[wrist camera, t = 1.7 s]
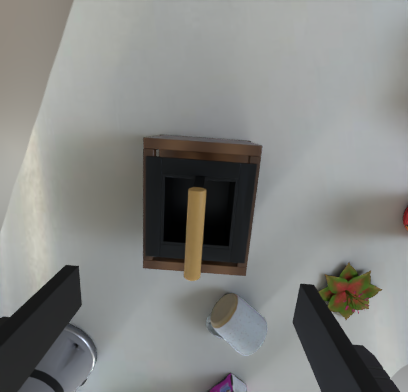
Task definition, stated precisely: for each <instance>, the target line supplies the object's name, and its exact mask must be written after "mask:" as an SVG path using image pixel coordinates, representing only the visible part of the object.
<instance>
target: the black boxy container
mask: <svg viewBox="0 0 408 392" xmlns="http://www.w3.org/2000/svg"><path fill="white" fill-rule="evenodd" d="M256 170H257V164H253V163H240V162H226V161H212V160H198V159H184V158H170V157H156V156H146V251H145V256H152V257H165V258H179V259H185V264H184V277H185V279H187V280H189V281H195V280H198V279H199V278H200V273H201V260H205V261H219V262H232V263H245V257H246V249H247V241H248V233H249V225H250V217H251V209H252V202H253V194H254V186H255V178H256Z"/></svg>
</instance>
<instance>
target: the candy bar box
mask: <svg viewBox="0 0 408 392" xmlns="http://www.w3.org/2000/svg"><path fill="white" fill-rule="evenodd" d="M208 392H247V388H246V384H245V383H244V382H243V381H241V380H240V379H238V378H237V377H236V376H234V375H233V374H232V373H230V374H229V375H228V376H226V377H225V378H224V379H223V380H222V381H220V382H219V383H218V384H217V385H216V386H214V387H213V388H212V389H211V390H209V391H208Z"/></svg>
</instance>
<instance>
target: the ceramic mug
mask: <svg viewBox="0 0 408 392" xmlns="http://www.w3.org/2000/svg"><path fill="white" fill-rule="evenodd" d="M210 321H211V322H210ZM206 327H207V329H208V330H209V332H210V333H212V334H213V335H214V336H216V337H218V338H220V339H225V340H226V341H227V342H228V343H229V344H230V345H231V346H232V347H233V348H234V349H235V350H236V351H237V352H238V353H239V354H241V355H244V356H247V355H251V354H253V353H254V352H256V351H257V350H258V349H259V348H260V346H261V345H262V344H263V342H264V340H265V337H266V334H267V322H266V320H265V318H264V317H263V316H262V315H261V314H259V313H258V312H257V311H256V310H255V309H254V308H252V307H251V306H250V305H249V304H248V303H247V302H246V301H245V300H243V299H242V298H241V297H240V296H238V295H236V294H234V293H230V294H226V295H225V296H223V297H222V298H221V299H220V300H219V301H218V302H217V303H216V305H215V306H214V308H213V310H212V313H211V315H209V316H208V319H207V321H206Z"/></svg>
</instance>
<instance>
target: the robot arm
mask: <svg viewBox="0 0 408 392" xmlns="http://www.w3.org/2000/svg"><path fill="white" fill-rule="evenodd" d="M81 305H82V302H81V290H80V277H79V266H71V265H65V266H64V267H63V268H62V269H61V270H60V271H59V272H58V273H57V274H56V275H55V276H54V277H53V278H52V279H50V280H49V281H48V282H47V283H46V284H45V285H44V286H43V287H42V288H41V289H40V290H39V291H38V292H37V293H35V294H34V295H33V296H32V297H31V298H30V299H29V300H28V301H27V302H26V303H25V304H24V305H23V306H22V307H20V308H19V309H18V310H17V311H16V312H15V313H14V314H13V315H12V316H11V317H2V318H0V392H75V391H76V390H77V388H78V387H80V386H82V385H83V384H84V383H85V381H86V380H87V377H88V376H89V375H90V373H91V371H92V369H93V367H94V365H95V363H96V359H97V352H96V348H95V346H94V344H93V342H92V340H91V339H90V338H89V337H88V335H86V334H85V333H84V332H83V331H82V330H80V329H78V328H77V327H75V326H72V325H70V324H68V323H69V322H70V320H71V319H72V318H73V316H74V315H75V314H76V312H77V311H78V310H79V308H80V307H81ZM293 325H294V327H295V329H296V332H297V334H298V337H299V339H300V341H301V344H302V346H303V349H304V351H305V353H306V356H307V358H308V361H309V363H310V365H311V368H312V370H313V373H314V375H315V377H316V380H317V382H318V385H319V387H320V389H321V392H400V391H399V389H398V388H397V387H396V385H395V384H394V382H393V381H392V380H390V377H389V376H388V374H387V373H386V371H385V370H383V367H382V366H381V364H380V363H379V362H378V360H377V359H376V357H375V356H374V355H373V354H372V353H371V352H370V351H368V350H367V349H366V348H365V347H364V346H363V345H352V343H351V342H350V340H349V339H348V337H347V335H346V334H345V332H344V331H343V329H342V328H341V326H340V325H339V323H338V322H337V320H336V319H335V317H334V315H333V314H332V312H331V311H330V309H329V308H328V306H327V305H326V303H325V302H324V300H323V299H322V297H321V296H320V294H319V292H318V291H317V289H316V288H315V286H314V285H310V284H300V288H299V293H298V298H297V303H296V308H295V313H294V318H293Z"/></svg>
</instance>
